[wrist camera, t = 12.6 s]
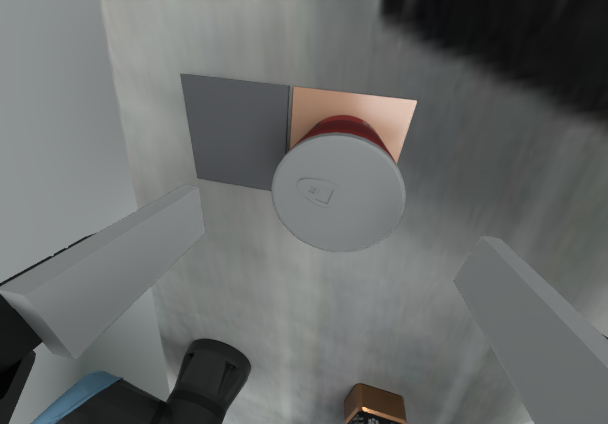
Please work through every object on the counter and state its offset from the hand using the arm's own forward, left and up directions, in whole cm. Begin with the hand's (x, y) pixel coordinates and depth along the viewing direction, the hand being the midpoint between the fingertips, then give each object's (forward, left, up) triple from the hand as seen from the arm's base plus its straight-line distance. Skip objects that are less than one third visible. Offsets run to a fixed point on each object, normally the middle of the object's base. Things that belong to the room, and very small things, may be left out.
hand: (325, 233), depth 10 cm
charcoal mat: (0, +11, -14) cm, 18 cm away
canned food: (0, 0, -14) cm, 14 cm away
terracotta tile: (0, 0, -14) cm, 14 cm away
